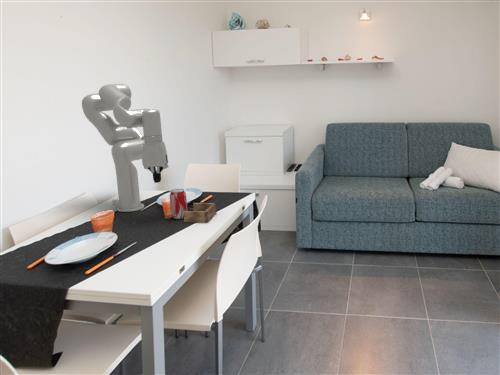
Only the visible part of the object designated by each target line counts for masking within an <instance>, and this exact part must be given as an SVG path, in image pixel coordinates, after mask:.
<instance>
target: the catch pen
mask: <svg viewBox="0 0 500 375" xmlns="http://www.w3.org/2000/svg"><path fill="white" fill-rule="evenodd" d="M192 205H193V208H192V209H193V210H190V211H189V210H187V211H184V218H183V220H184V221H183V222H184V223H198V224H199V223H209V221H210V220H211V219H212V218H213V217H214V216H216V214H217V203H216V202H215V203H213V202H209V203H207V202H193V204H192Z"/></svg>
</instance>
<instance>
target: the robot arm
mask: <svg viewBox="0 0 500 375" xmlns="http://www.w3.org/2000/svg"><path fill="white" fill-rule="evenodd" d="M131 98H132V91H131V88H130V87H129V85H127V84H125V83H114V84H111V83H110V84H105V85H102V86H101V87H100V88H99V89H98V93H96V92H95V93H91V94H88V95H86V96H84V97H83V98H82V100H81V109H82V111H83V115H84V116H85V118H86V119H87V120H88V122H90V123H91V124H92V126H94V127H95V129H97V132H99V134H100V136H101V137H102V138H103V140H104V141H105V142H106V144H107V145H109V146H111V148H110V149H111V150H110V151H111V156H112V160H113V163H114V169H115V175H116V176H115V177H116V184H117V195H118V199H112V200H111V204H112V206H113V205H116V211H118V212H122V213H130V212H137V211H140V210H143V209H144V208H145V204H144V203H141V194H140V185H139V173H138V169H137V167H136V166H135V165H134V164H133V162H134V161H139V160H141V162H142V163H141V164H142V166H143V169H144V170H148V171H149V172H150V173H151V174H152V179H153V180H152V181H153V182H154V183H155V184H156V183H161V181H162V174H161V173H162V172H163V170H165V169H168V168H169V164H168V163H169V159H168V152H167V148H166V144H165V141H163V132H162V121H161V112H160V111H159V109H154V108H153V109H149V108H138V109H130V108H131V105H132V100H131ZM109 111H110V112H111V111H112V114H113V117H114V119H115V121H116V122H117V123H116V122H115V121H114V120H113V118H112V117H111V116H110V115H108V114H106V113H105V112H109ZM138 128H142V131H143V135H142V132H140V131H139V129H138Z"/></svg>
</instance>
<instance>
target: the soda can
mask: <svg viewBox="0 0 500 375" xmlns="http://www.w3.org/2000/svg"><path fill="white" fill-rule="evenodd" d="M169 193H170V194H169V205H170V206H169V207H170V214H171V217H172V218H173V219H175V220H181V219H184V211H188V201H187V194H186V193H187V192H186V191H185V189H184V188H173V189H171V190H170V192H169Z"/></svg>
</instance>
